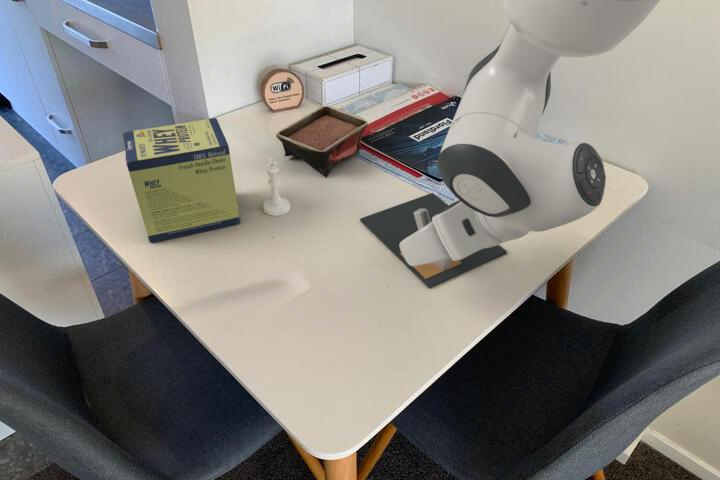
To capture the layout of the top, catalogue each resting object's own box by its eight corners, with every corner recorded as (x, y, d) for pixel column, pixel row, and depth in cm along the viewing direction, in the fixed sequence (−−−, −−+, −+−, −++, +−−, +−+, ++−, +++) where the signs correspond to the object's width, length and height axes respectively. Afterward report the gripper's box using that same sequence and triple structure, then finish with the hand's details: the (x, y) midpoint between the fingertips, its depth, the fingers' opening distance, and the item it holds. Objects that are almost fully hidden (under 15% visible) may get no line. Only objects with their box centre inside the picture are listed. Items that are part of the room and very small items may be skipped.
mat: (506, 253, 86) (507, 250, 85) (428, 288, 79) (429, 285, 78) (432, 194, 99) (432, 191, 98) (360, 220, 92) (360, 217, 92)
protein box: (242, 223, 91) (229, 144, 81) (149, 244, 86) (123, 162, 76) (230, 192, 99) (217, 116, 89) (143, 210, 94) (119, 131, 84)
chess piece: (261, 202, 96) (255, 154, 90) (288, 198, 97) (284, 151, 91) (264, 217, 93) (258, 168, 86) (292, 213, 93) (288, 165, 87)
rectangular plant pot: (373, 162, 112) (376, 116, 107) (317, 186, 99) (317, 135, 94) (323, 146, 119) (324, 102, 114) (265, 166, 107) (263, 118, 102)
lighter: (451, 265, 82) (457, 225, 77) (444, 270, 81) (449, 229, 76) (417, 245, 86) (421, 205, 81) (410, 249, 85) (413, 209, 80)
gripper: (526, 164, 75) (463, 192, 86) (428, 220, 64) (372, 243, 76) (545, 203, 75) (480, 226, 87) (452, 265, 64) (392, 281, 76)
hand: (429, 234), depth 81 cm, fingers closed on lighter, 2 cm apart
